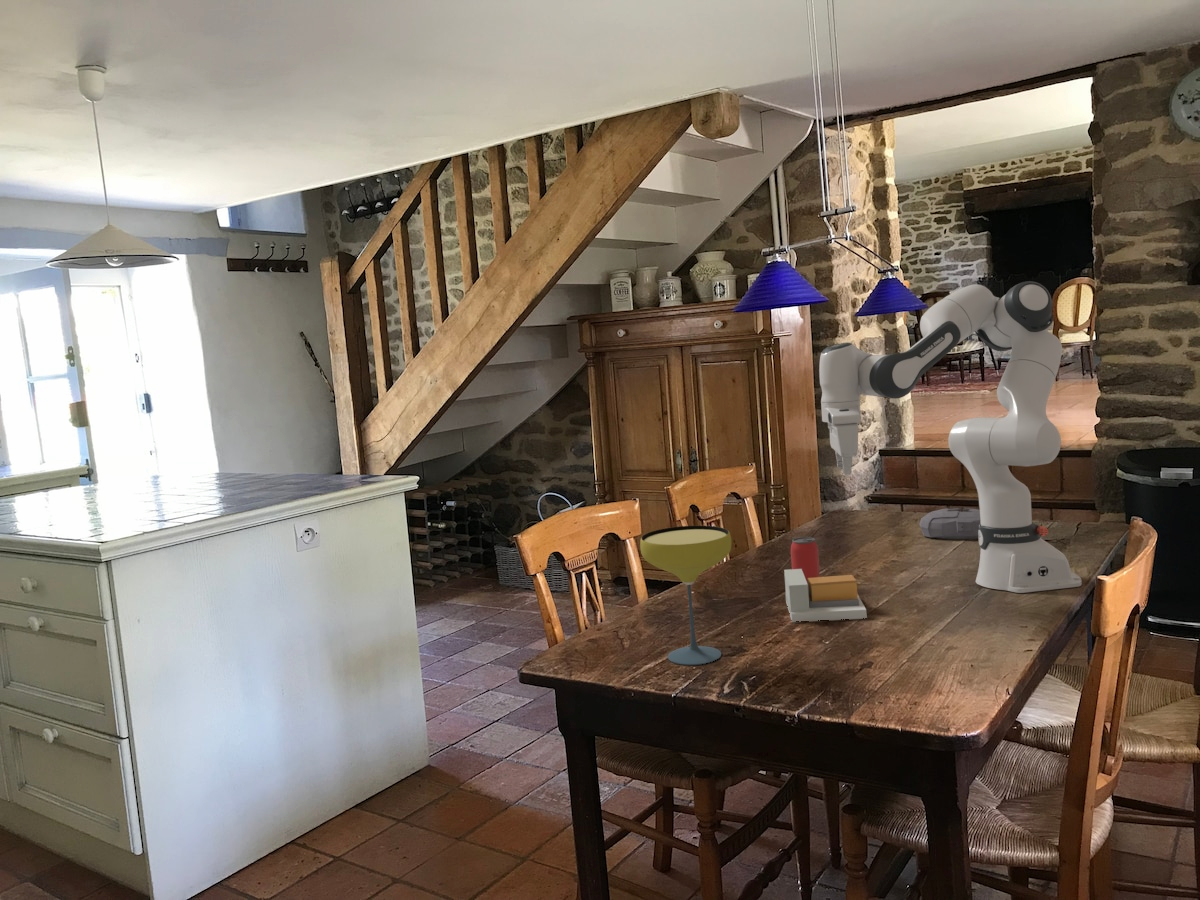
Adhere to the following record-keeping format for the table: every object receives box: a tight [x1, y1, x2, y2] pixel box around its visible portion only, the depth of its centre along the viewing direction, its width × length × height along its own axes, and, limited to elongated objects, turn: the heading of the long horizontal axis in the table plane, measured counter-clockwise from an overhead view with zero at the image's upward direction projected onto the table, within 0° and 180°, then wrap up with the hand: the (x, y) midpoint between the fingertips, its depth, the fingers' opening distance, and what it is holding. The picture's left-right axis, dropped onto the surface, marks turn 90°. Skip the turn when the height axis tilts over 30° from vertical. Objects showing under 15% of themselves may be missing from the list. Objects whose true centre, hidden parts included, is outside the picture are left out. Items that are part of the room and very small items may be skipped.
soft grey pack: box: [918, 506, 980, 541], centre depth 272 cm, size 15×8×20 cm
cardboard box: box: [808, 574, 859, 601], centre depth 212 cm, size 10×5×5 cm, turn 87°
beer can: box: [790, 536, 821, 584], centre depth 232 cm, size 7×7×12 cm
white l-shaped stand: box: [783, 568, 868, 623], centre depth 212 cm, size 16×16×8 cm
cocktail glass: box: [639, 525, 732, 666], centre depth 188 cm, size 18×18×25 cm
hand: (844, 471), depth 222 cm, fingers open, 8 cm apart
